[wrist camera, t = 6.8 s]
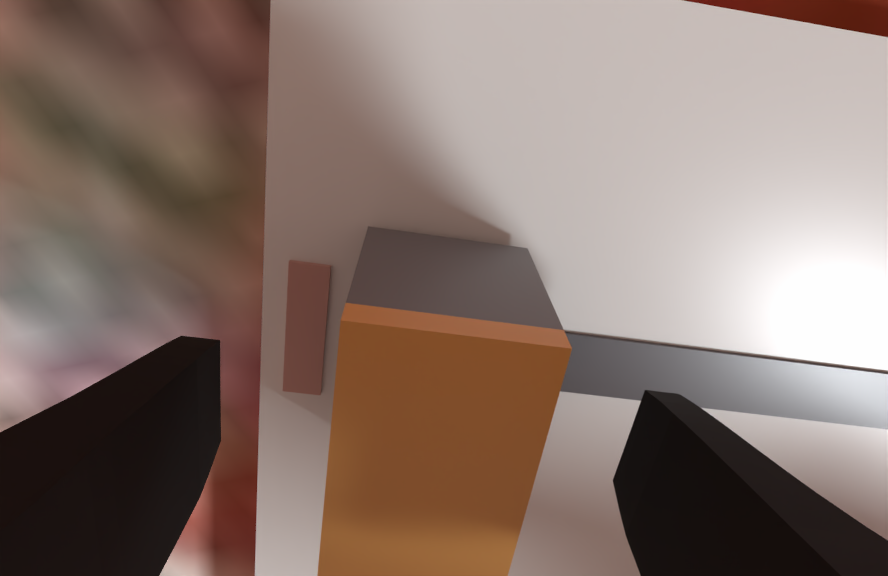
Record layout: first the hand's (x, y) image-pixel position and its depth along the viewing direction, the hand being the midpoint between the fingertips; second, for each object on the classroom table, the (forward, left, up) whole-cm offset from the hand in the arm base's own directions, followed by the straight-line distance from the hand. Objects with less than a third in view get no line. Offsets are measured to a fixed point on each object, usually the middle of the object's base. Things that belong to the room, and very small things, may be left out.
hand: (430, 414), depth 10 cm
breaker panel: (-5, +4, -4) cm, 8 cm away
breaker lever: (0, 0, -2) cm, 2 cm away
